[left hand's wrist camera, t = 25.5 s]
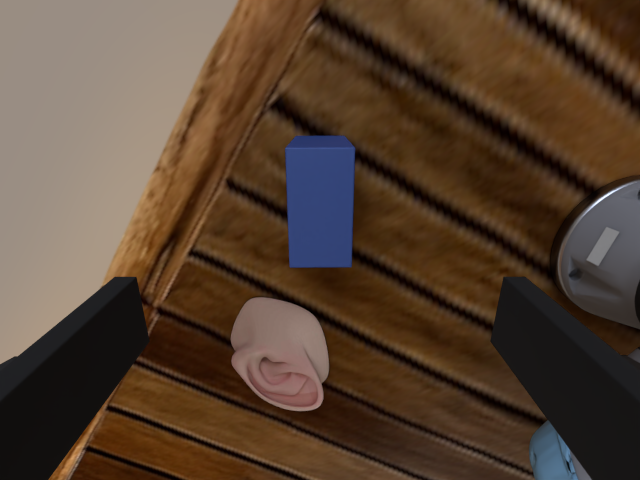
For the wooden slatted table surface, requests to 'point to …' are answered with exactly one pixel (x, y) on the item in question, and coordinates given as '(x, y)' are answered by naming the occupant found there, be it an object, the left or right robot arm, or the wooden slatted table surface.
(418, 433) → the wooden slatted table surface
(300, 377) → the anatomical model
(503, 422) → the wooden slatted table surface
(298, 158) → the brick
